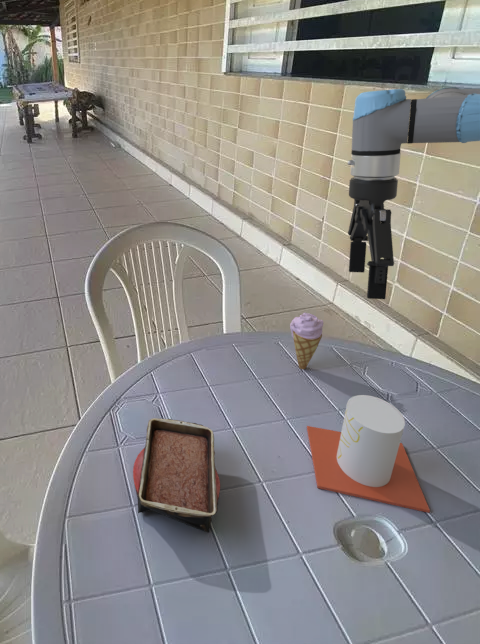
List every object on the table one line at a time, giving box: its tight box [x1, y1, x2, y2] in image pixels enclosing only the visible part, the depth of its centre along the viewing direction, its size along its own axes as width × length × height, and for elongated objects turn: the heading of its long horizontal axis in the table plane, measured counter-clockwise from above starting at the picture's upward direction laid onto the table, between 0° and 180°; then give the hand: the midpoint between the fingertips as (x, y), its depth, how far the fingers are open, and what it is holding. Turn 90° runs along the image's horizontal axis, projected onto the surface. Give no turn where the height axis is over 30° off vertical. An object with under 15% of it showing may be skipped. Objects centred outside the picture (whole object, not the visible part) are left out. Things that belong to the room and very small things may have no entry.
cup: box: [337, 394, 406, 487], centre depth 72 cm, size 8×8×12 cm
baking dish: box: [132, 417, 221, 533], centre depth 71 cm, size 14×18×10 cm
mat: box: [306, 425, 431, 514], centre depth 75 cm, size 16×13×1 cm
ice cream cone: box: [289, 311, 324, 370], centre depth 96 cm, size 7×6×15 cm
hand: (365, 284), depth 83 cm, fingers open, 13 cm apart
